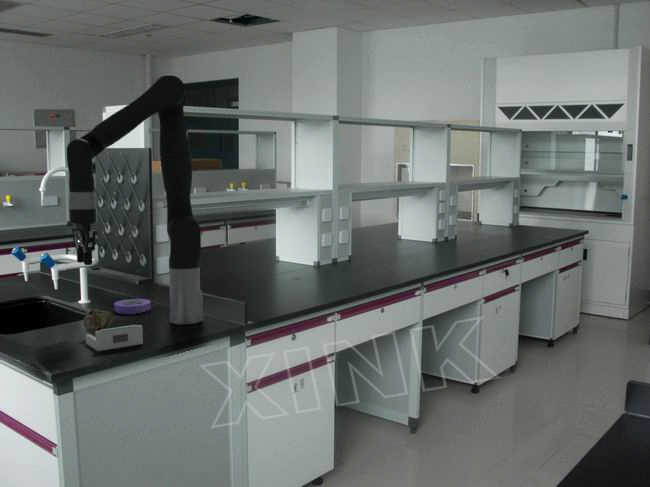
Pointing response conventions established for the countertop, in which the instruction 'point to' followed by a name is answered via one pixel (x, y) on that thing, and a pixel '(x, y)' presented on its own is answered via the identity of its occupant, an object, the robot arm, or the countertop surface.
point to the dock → (116, 337)
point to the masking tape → (132, 306)
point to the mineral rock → (97, 320)
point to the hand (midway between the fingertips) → (84, 263)
